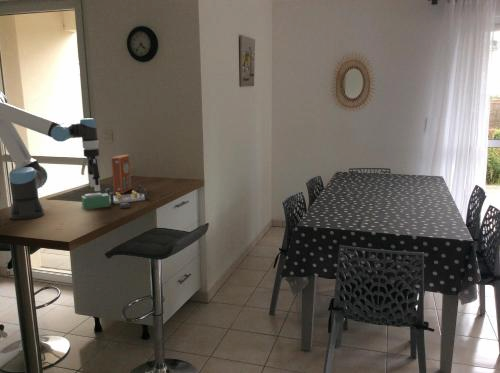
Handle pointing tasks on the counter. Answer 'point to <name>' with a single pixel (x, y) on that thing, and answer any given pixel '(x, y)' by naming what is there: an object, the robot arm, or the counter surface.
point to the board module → (95, 200)
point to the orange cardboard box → (121, 173)
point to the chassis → (128, 196)
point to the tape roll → (124, 205)
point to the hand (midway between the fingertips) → (95, 188)
